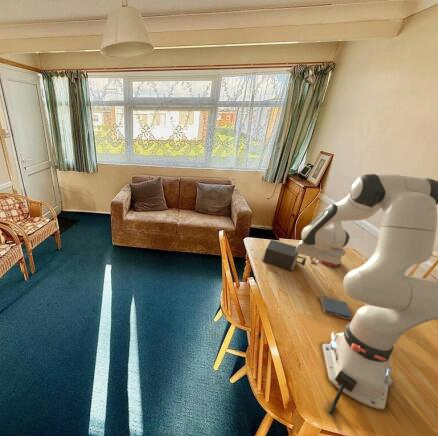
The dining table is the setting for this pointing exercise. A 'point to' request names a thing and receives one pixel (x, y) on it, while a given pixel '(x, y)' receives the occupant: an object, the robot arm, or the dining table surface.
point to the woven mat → (335, 307)
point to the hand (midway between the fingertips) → (313, 264)
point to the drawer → (297, 261)
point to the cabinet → (280, 254)
